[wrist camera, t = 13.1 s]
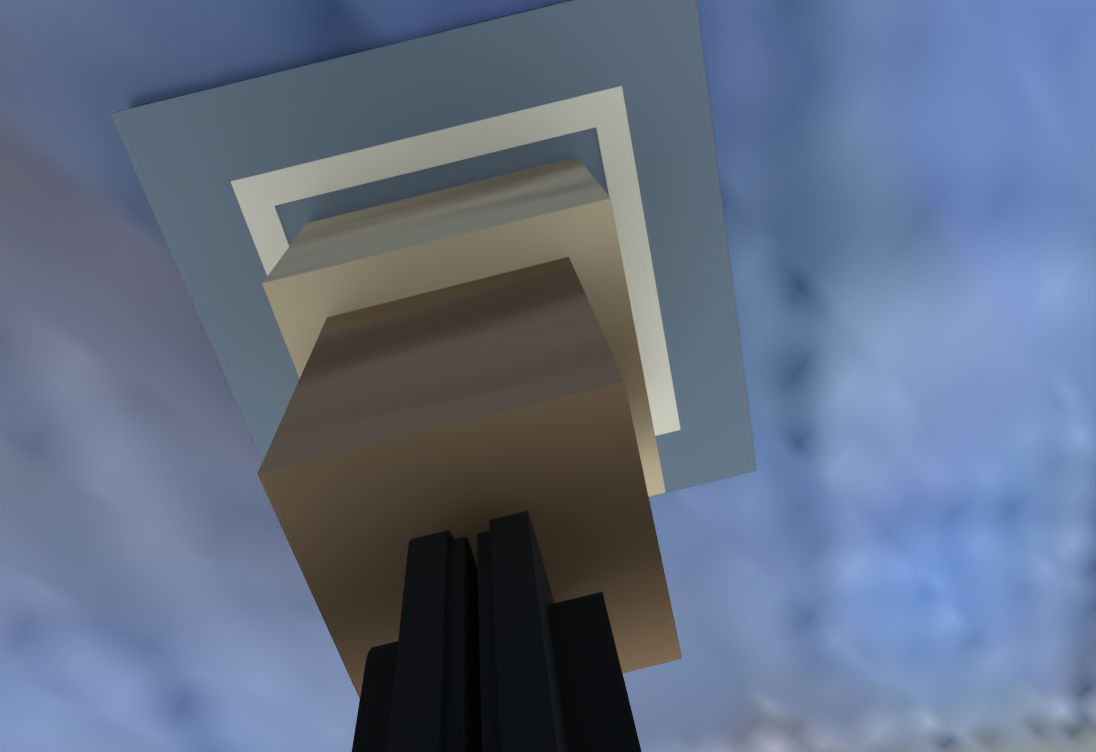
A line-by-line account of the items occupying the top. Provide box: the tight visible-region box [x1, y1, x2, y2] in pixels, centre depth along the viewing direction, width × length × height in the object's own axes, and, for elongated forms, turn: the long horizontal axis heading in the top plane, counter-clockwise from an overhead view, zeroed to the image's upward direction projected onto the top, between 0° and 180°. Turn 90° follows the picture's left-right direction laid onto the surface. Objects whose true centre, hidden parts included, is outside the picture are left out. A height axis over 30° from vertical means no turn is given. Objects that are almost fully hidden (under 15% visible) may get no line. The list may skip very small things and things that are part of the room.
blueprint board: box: [110, 0, 756, 492], centre depth 22 cm, size 14×14×1 cm
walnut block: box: [258, 257, 682, 698], centre depth 14 cm, size 5×5×6 cm
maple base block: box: [262, 157, 666, 497], centre depth 19 cm, size 7×7×5 cm
